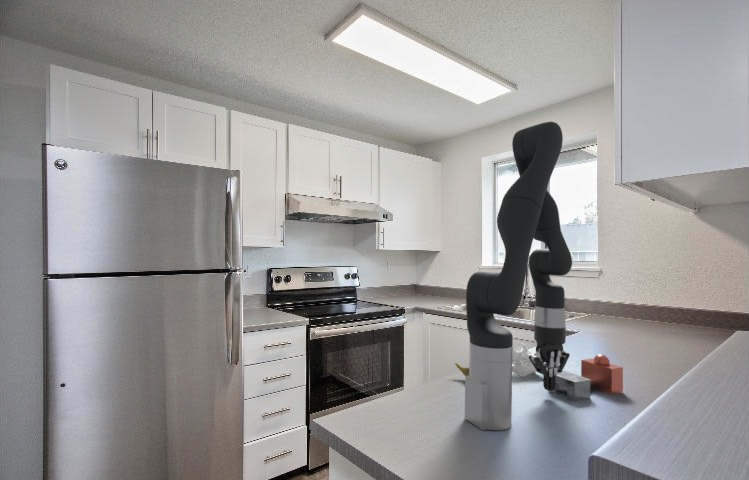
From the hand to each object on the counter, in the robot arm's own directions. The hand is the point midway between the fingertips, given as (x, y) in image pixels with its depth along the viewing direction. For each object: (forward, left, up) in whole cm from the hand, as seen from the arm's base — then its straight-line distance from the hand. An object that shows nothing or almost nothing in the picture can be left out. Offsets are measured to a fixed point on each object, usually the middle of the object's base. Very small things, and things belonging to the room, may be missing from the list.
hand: (549, 389), depth 97 cm
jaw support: (+9, +18, -2) cm, 20 cm away
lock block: (+7, 0, -2) cm, 7 cm away
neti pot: (-11, +16, -2) cm, 19 cm away
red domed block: (+18, 0, -2) cm, 18 cm away
